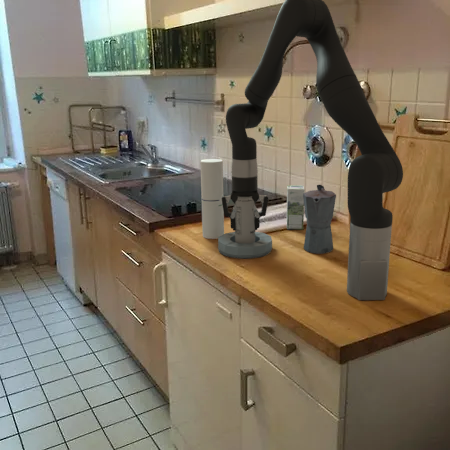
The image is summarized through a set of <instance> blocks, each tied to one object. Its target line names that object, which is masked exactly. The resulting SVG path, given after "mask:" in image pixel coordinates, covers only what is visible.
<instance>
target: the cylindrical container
mask: <svg viewBox="0 0 450 450" xmlns="http://www.w3.org/2000/svg"><path fill="white" fill-rule="evenodd" d="M223 164H224V163H223V159H220V158H206V159H201V160H200V190H201V191H200V194H201V196H200V198H201V227H202V228H201V229H202V237H203V238H204V239H209V240H215V239H216V240H218V237H219V236H221V235H223V234H225V215H224V210H223V204H222V196H223V195H224V165H223Z"/></svg>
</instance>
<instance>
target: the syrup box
mask: <svg viewBox="0 0 450 450" xmlns="http://www.w3.org/2000/svg"><path fill="white" fill-rule="evenodd" d="M286 188H287V189H286V222H287V224H286V229H287V230H304V222H305V221H304V219H305V217H304V216H305V208H304V199H303V193H306V191H305V190H306V189H305V187H304V185H287V187H286Z"/></svg>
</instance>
